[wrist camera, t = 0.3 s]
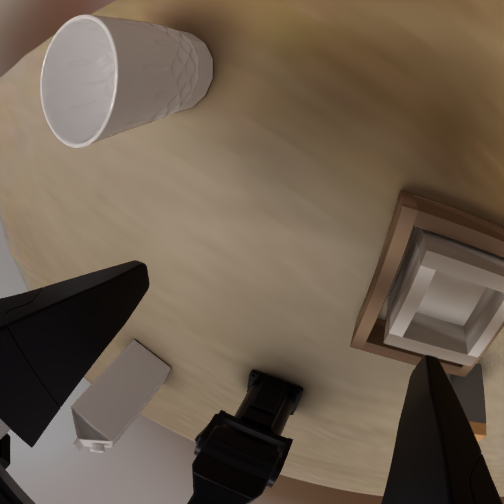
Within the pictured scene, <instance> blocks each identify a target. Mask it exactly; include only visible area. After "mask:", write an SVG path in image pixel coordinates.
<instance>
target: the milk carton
mask: <svg viewBox="0 0 504 504" xmlns="http://www.w3.org/2000/svg"><path fill="white" fill-rule="evenodd" d="M170 370H171V367H169V366H168V365H167V364H165V363H164V362H163V361H161V360H160V359H159V358H157V357H156V356H155V355H153V354H152V353H151V352H150V351H148V350H147V349H146V348H144V347H143V346H142V345H141V344H139V343H138V342H137V341H136V340H133V341H132V342H131V343H130V344H129V345H128V346H127V347H126V348H125V349H124V350H123V351H122V352H121V353H120V354H119V356H118V357H117V358H116V359H115V360H114V361H113V362H112V363H111V364H110V365H109V366H108V367H107V368H106V369H105V370H104V371H103V372H102V374H101V375H100V376H99V377H98V378H97V379H96V380H95V381H94V382H93V383H92V384H91V385H90V386H89V388H88V389H87V390H86V391H85V392H84V393H83V394H82V395H81V396H80V397H79V398H78V399H77V400H76V402H75V403H74V404H73V405H72V406H71V409H72V414H73V420H74V424H75V429H76V434H77V439H76V441H75V442H74V443H73V444H74V445H75V447H76V448H77V449H78V450H80V449H81V448H82V447H83V446H90V451H92V452H100V453H103V452H105V449H104V447H110V448H111V447H113V446H114V445H115V443H116V442H117V441H118V440H119V439H120V437H121V436H122V435H123V434H124V432H125V431H126V430H127V429H128V427H129V426H130V425H131V424H132V422H133V421H134V420H135V419H136V417H137V416H138V415H139V414H140V412H141V411H142V410H143V409H144V407H145V406H146V405H147V403H148V402H149V401H150V400H151V398H152V397H153V396H154V395H155V393H156V392H157V391H158V390H159V388H160V387H161V386H162V385H163V383H164V382H165V380H166V378H167V376H168V374H169V372H170Z"/></svg>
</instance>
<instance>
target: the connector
mask: <svg viewBox="0 0 504 504" xmlns="http://www.w3.org/2000/svg"><path fill="white" fill-rule="evenodd" d="M446 375H447V376H448V378H449V380H450V382H451V384H452V386H453V389H454V391H455V393H456V395H457V397H458V399H459V401H460V403H461V405H462V407H463V410H464V412H465V414H466V416H467V418H468V421H469V423H470V425H471V428H472V430H473V432H474V435H475V437H476V439H477V442H479V441H480V440H481V439H483V438H484V437H485V436H486V412H485V398H484V387H483V378H482V370H481V365H480V364H475V366H474V367H473V368H472V369H471V371H470V372H469V373H468V374H467V375H466V377H462V376H457V375H453V374H449V373H446Z"/></svg>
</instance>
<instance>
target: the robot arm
mask: <svg viewBox="0 0 504 504" xmlns="http://www.w3.org/2000/svg"><path fill="white" fill-rule="evenodd" d="M148 288H149V277H148V271H147V266H146V264H144V263H142V262H139V261H136V260H134V261H131V262H127V263H124V264H120V265H117V266H113V267H110V268H106V269H103V270H99V271H96V272H92V273H89V274H86V275H82V276H79V277H75V278H72V279H69V280H65V281H62V282H59V283H55V284H52V285H49V286H45V287H44V288H43V287H42V288H39V289H35V290H32V291H29V292H25V293H22V294H18V295H14V296H10V297H6V298H1V299H0V504H35V503H34V502H33V501H32V500H31V499H30V498H29V496H27V494H26V493H25V492H24V491H23V490H22V489H21V488H20V487H19V486H18V484H17V483H16V482H15V481H14V480H13V478H12V477H11V476H10V475H9V474H8V472H7V471H6V470H5V469H6V468H7V467H8V466H9V465H10V436H9V435H8V433H7V432H8V431H9V430H10V429H11V430H12V431H13V432H14V433H16V434H17V435H18V436H19V437H20V438H21V439H22V440H23V441H24V442H26V443H27V444H28V445H29V446H30V447H33V446H34V445H35V443H36V442H37V440H38V439H39V438H40V436H41V435H42V433H43V431H44V430H45V429H46V427H47V426H48V425H49V423H50V422H51V420H52V419H53V418H54V416H55V415H56V413H57V412H58V411H59V409H60V407H61V406H62V405H63V404H64V402H65V401H66V400H67V398H68V397H69V395H70V394H71V393H72V391H73V390H74V389H75V387H76V386H77V385H78V383H79V382H80V381H81V379H82V378H83V377H84V375H85V374H86V373H87V372H88V370H89V369H90V368H91V366H92V365H93V364H94V362H95V361H96V360H97V359H98V357H99V356H100V355H101V353H102V352H103V351H104V350H105V348H106V347H107V346H108V345H109V343H110V342H111V341H112V340H113V338H114V337H115V336H116V335H117V333H118V332H119V331H120V330H121V328H122V327H123V326H124V324H125V323H126V322H127V320H128V319H129V317H130V316H131V314H132V313H133V311H134V310H135V308H136V307H137V305H138V304H139V302H140V301H141V299H142V298H143V296H144V295H145V293H146V292H147V290H148ZM302 393H303V388H301V387H299V386H296V385H293V384H290V383H287V382H284V381H282V380H279V379H276V378H273V377H271V376H268V375H265V374H263V373H260V372H257V371H254V370H252V371H251V372H250V374H249V382H248V390H247V394H246V396H245V398H244V400H243V402H242V403H241V405H240V407H239V409H238V410H237V412H236V414H235V416H232V415H230V414H228V413H226V412H225V411H223V410H221V411H220V412H219V414H215V415H214V417H213V418H212V420H211V421H210V423H209V424H208V425H207V427H206V428H205V429H204V430H203V431H202V432H201V433H200V434H199V435H198V436H197V437H196V439H195V442H196V444H197V445H196V449H195V452H194V454H195V455H196V456H197V457H196V459H195V460H194V462H193V464H192V469H193V490H194V493H193V495H192V497H191V499H190V500H189V502H188V503H187V504H250V503H251V502H253V501H254V500H255V499H257V498H258V497H259V496H260V495H261V494H262V493H263V491H264V489H265V487H266V486H267V487H270V488H271V487H272V486H273V484H274V483H275V481H276V479H277V478H278V476H279V474H280V472H281V470H282V467H283V465H284V462H285V460H286V457H287V455H288V452H289V449H290V447H291V444H292V441H293V439H290V438H285V437H283V436H281V433H282V431H283V429H284V427H285V424H286V422H287V420H288V418H289V415H293V414H294V412H295V410H296V407H297V405H298V402H299V400H300V398H301V395H302ZM381 504H503V503H502V501H501V499H500V496H499V494H498V492H497V489H496V487H495V485H494V482H493V480H492V478H491V475H490V472H489V470H488V467H487V465H486V462H485V459H484V457H483V455H482V454H481V449H480V447H479V444H478V442H477V439H476V437H475V435H474V432H473V430H472V428H471V425H470V423H469V421H468V418H467V416H466V414H465V412H464V410H463V407H462V405H461V403H460V401H459V399H458V397H457V395H456V393H455V391H454V389H453V386H452V384H451V382H450V380H449V378H448V376H447V375H446V373H445V371H444V369H443V367H442V365H441V363H440V361H439V359H438V358H437V357H435V356H431V355H424V356H423V357H422V358H421V360H420V361H419V363H418V364H417V366H416V367H415V369H414V370H413V372H412V374H411V376H410V380H409V384H408V389H407V393H406V397H405V402H404V406H403V410H402V413H401V417H400V421H399V426H398V431H397V437H396V442H395V448H394V453H393V458H392V463H391V467H390V472H389V476H388V480H387V484H386V488H385V492H384V496H383V500H382V503H381Z"/></svg>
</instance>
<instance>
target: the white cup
mask: <svg viewBox="0 0 504 504" xmlns="http://www.w3.org/2000/svg"><path fill="white" fill-rule="evenodd" d="M212 79H213V58H212V56H211V54H210V52H209V50H208V48H207V46H206V44H205V43H204V42H203V41H202V40H200V39H199V38H197V37H196V36H195V35H193V34H191V33H187V32H183V31H178V30H174V29H171V28H169V27H166V26H162V25H157V24H152V23H148V22H143V21H137V20H130V19H123V18H115V17H106V16H97V15H80V16H76V17H74V18H72V19H70V20H69V21H67V22H66V23H65V24H64V25H63V26H62V27H61V28H60V29H59V30H58V31H57V33H56V34H55V36H54V37H53V39H52V41H51V42H50V44H49V47H48V49H47V52H46V54H45V58H44V61H43V65H42V71H41V81H40V91H41V101H42V107H43V111H44V114H45V117H46V120H47V122H48V125H49V127H50V128H51V130H52V132H53V133H54V134H55V136H56V137H57V138H58V139H59V140H60V141H61V142H62V143H64V144H65V145H67V146H70V147H73V148H82V147H85V146H88V145H90V144H93V143H95V142H98V141H100V140H103V139H105V138H108V137H111V136H113V135H116V134H119V133H122V132H125V131H127V130H130V129H133V128H136V127H139V126H142V125H145V124H148V123H151V122H154V121H156V120H159V119H162V118H165V117H166V116H168V115H170V114H173V113H177V112H180V111H184V110H187V109H191V108H193V107H194V106H195V105H196V104H197V103H198V102H199V101H200V100H201V99H202V98H203V97H205V95H206V93H207V90H208V88H209V86H210V84H211V81H212Z"/></svg>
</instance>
